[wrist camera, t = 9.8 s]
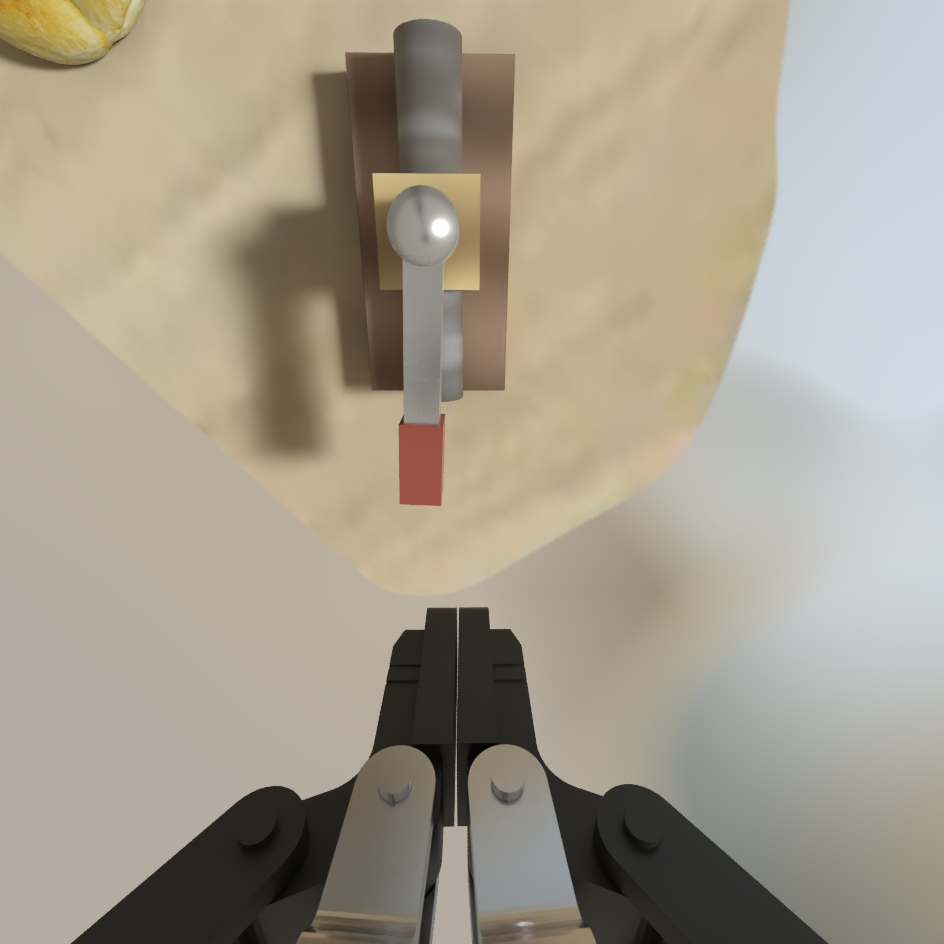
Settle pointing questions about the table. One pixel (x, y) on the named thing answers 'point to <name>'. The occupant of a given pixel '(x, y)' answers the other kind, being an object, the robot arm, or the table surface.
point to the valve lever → (422, 335)
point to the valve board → (494, 208)
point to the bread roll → (67, 27)
